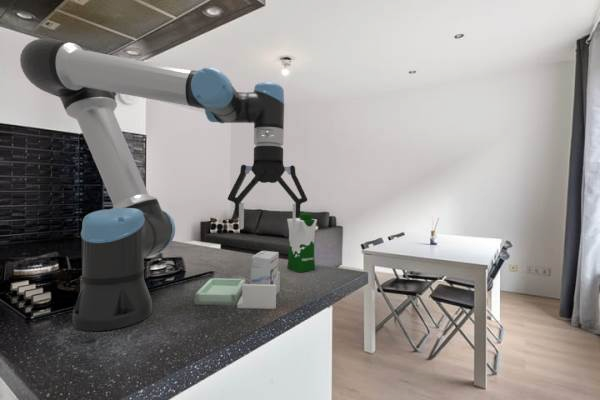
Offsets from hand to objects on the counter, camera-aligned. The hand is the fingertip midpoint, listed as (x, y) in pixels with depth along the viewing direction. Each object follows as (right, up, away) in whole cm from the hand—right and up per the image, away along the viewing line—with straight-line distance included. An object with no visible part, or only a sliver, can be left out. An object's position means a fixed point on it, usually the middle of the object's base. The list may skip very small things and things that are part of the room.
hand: (267, 229), depth 83 cm
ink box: (-1, -18, +1) cm, 19 cm away
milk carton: (+9, -17, +32) cm, 37 cm away
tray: (-12, -18, +3) cm, 22 cm away
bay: (-1, -18, +1) cm, 18 cm away
